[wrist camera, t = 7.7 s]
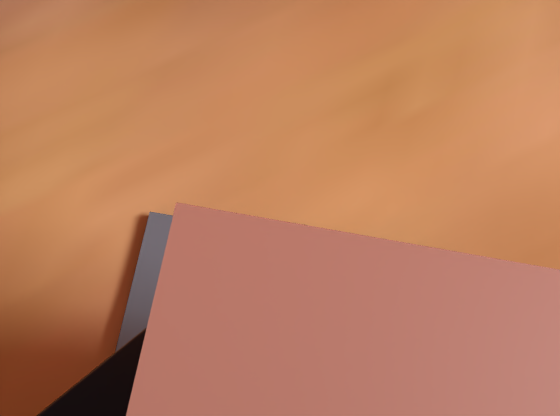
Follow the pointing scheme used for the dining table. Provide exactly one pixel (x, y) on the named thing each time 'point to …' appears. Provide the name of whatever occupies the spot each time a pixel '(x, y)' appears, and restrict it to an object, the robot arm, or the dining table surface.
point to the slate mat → (145, 277)
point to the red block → (341, 326)
